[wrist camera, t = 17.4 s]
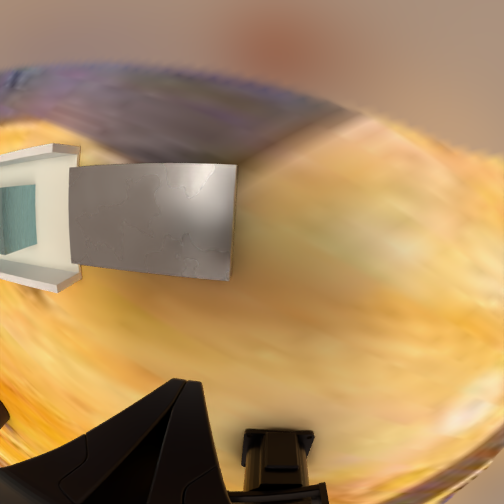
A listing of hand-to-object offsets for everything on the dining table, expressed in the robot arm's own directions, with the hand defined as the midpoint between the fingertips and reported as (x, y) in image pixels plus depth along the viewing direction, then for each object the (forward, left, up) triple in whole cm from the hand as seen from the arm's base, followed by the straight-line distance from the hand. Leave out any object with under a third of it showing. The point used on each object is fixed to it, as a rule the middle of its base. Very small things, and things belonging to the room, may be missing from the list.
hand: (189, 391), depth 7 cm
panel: (+3, +6, -12) cm, 13 cm away
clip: (+3, +20, -11) cm, 24 cm away
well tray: (+3, +19, -12) cm, 23 cm away
